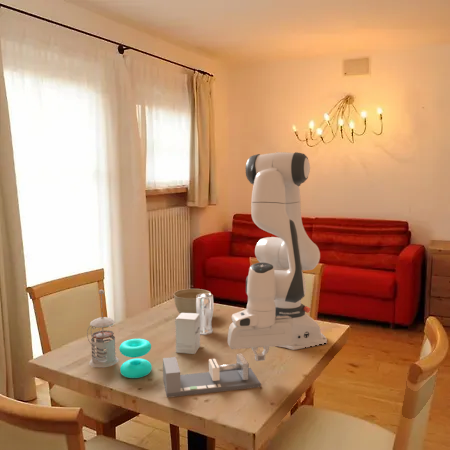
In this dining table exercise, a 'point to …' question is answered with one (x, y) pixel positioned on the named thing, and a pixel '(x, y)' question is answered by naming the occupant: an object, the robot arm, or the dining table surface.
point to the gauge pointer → (214, 369)
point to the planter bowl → (187, 299)
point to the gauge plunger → (237, 367)
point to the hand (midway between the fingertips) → (260, 360)
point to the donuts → (136, 366)
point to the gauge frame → (202, 381)
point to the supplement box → (187, 333)
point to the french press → (102, 342)
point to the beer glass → (205, 312)
